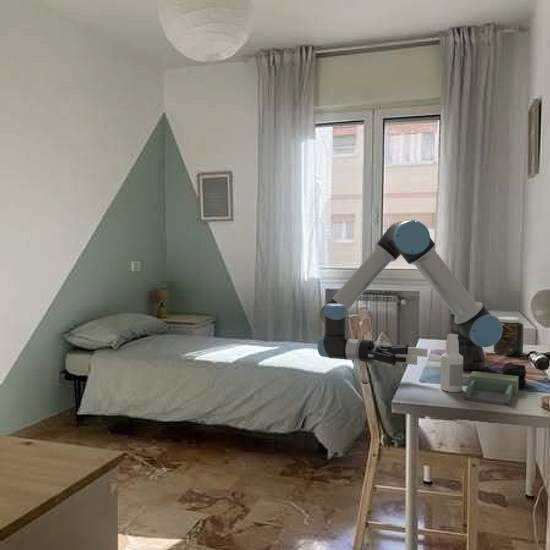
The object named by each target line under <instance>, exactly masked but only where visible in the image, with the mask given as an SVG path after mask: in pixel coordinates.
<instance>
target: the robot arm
mask: <svg viewBox="0 0 550 550" xmlns="http://www.w3.org/2000/svg"><path fill="white" fill-rule="evenodd" d="M383 233H384V234H382V236H381V237H380V238H379V240H377V242H376V243H375V244H374V250H372V252H371V253H370V254H369V255H368V257H367V258H366V259H364V261H363V262H362V263H361V265H359V267H358V268H357V269H356V270H355V271H354V273H353V274H351V276H350V277H349V278H348V280H347V281H346V282H345V283H344V284H343V285H342V286H341V288H339V290H338V291H337V292H336V293H335V295H334V296H333V297H332V298H331V299H330V300H329V302H328V303H326V304H325V305H323V306H322V307H321V308H320V310H319V317H320V320H321V321H322V323H323V324H324V335H323V336H320V337H319V339H318V341H317V352H318V355H319V356H321V357H322V358H323V357H324V358H329V359H331V360H332V359H334V360H335V359H336V360H337V359H338V360H346V361H351V362H352V363H354V362H355V361H356V362H363V363H364V362H365V363H371V362H372V361H376V362H377V361H378V362H382V363H386V364H389V365H392V366H396V365H397V364H403V365H411V366H412V365H414V366H417V365H418V357H424V358H427V357H428V348H424V347H411V346H409V344H406V345H386V344H385V345H383V344H380V345H378V346H375V343H374V341H373V340H369V339H359V338H347V336H346V335H347V332H346V331H347V327H346V326H347V313H348V311H349V310H350V309H351V308H352V306H353V305H354V304H355V303H356V301H358V300H359V299H360V298H361V296H362V295H363V294H364V293H365V291H366V290H367V289H368V288H369V287H370V286H371V285H372V284H373V282H374V281H375V280H376V279H377V278H378V277H379V275H381V273H382V272H383V271H384V270H385V269H386V268H387V266H388V265H389V264H390V263H391V262H395V261H397V259H398V258H399V257H400V256H402V258H403V259H404V260H405V261H406V263H407V264H408V265H413V266H415V267H416V268H417V270H418V271H419V272H420V273H421V275H422V276H423V277H424V278H425V280H426V281H427V283H429V285H430V286H431V287H432V289H433V290H434V291H435V293H437V295H438V297H440V299H441V300H442V301H443V303H444V304H445V305H446V306H447V308H448V309H449V310H450V313H449V316H450V319H449V320H450V321H449V322H450V323H449V326H450V327H449V330H450V332H449V334H457V335H458V342H459V354H461V355H462V356H463V370H482V369H485V368H487V358H486V355H485V351H484V349H483V348H489V347H492V346H494V344H496V343H497V342H498V341H499V340H500V338H501V336H502V331H503V327H502V324H501V322H500V320H499V317H497V316H496V315H494V314H491V313H490V311H488V309H487V308H486V306H485V305H484V304H483V303H482V302H481V301H476V300H474V298H473V296H472V295H470V293H469V292H468V290H467V289H466V288H465V287H464V286H463V284H462V283H461V282H460V281H459V279H458V278H457V276H455V274H454V273H453V272H452V270H451V269H450V268H449V266H448V265H447V263H445V262H444V260H443V259H442V257H440V255H439V254H438V253H437V251H436V243H435V241H434V240H433V239H432V238H431V235H430V231H429V229H428V227H427V225H425V224H424V223H422V222H420V221H418V220H415V219H405V220H401V221H400V220H399V221H397V222H395V223H392V224H391V225H390V226H389V227H388V228H387V230H386V231H385V232H383Z"/></svg>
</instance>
